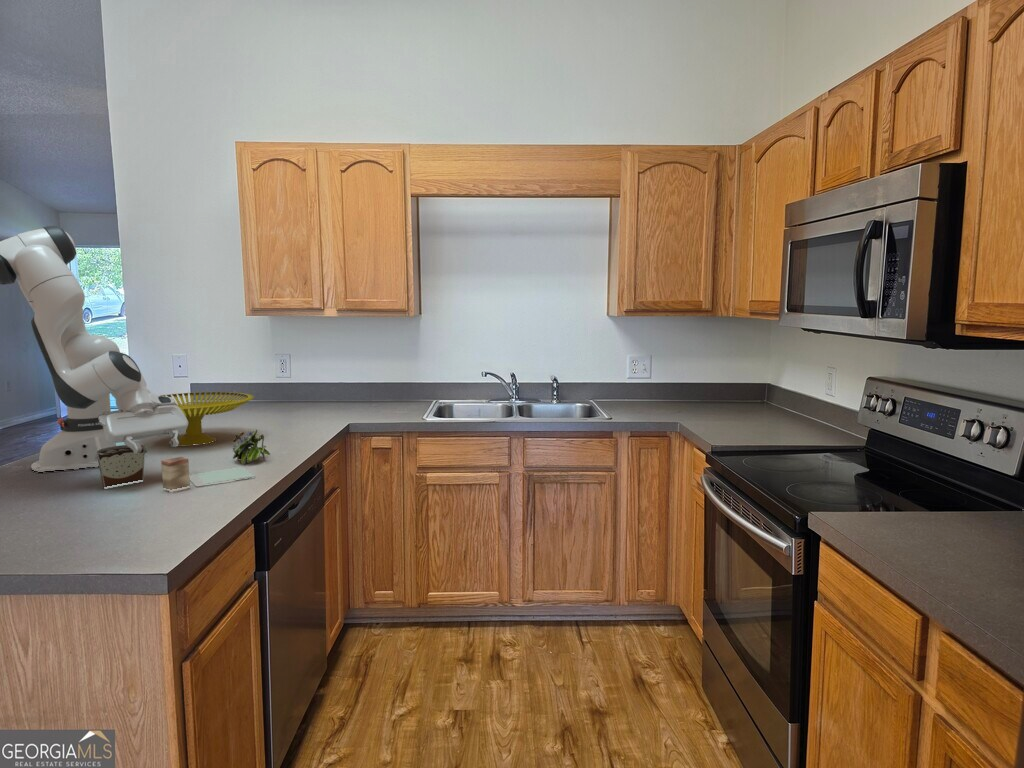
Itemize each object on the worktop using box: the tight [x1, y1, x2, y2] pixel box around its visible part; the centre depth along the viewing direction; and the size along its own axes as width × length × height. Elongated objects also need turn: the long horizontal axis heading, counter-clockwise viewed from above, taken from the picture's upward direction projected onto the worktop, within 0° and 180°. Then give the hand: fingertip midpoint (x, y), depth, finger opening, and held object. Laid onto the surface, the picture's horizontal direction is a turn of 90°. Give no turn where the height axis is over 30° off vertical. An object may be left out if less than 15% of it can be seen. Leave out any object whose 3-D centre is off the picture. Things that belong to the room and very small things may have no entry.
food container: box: [95, 444, 148, 488], centre depth 173 cm, size 12×6×10 cm, turn 141°
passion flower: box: [232, 429, 271, 465], centre depth 199 cm, size 11×11×12 cm
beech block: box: [160, 456, 191, 490], centre depth 169 cm, size 5×4×8 cm
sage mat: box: [189, 466, 256, 484], centre depth 180 cm, size 15×13×1 cm
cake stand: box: [159, 391, 255, 445], centre depth 225 cm, size 40×40×15 cm
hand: (157, 448), depth 171 cm, fingers open, 8 cm apart
